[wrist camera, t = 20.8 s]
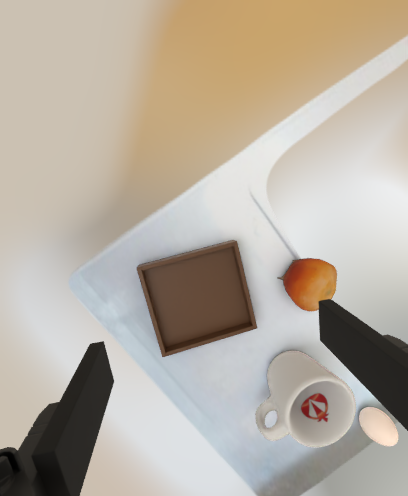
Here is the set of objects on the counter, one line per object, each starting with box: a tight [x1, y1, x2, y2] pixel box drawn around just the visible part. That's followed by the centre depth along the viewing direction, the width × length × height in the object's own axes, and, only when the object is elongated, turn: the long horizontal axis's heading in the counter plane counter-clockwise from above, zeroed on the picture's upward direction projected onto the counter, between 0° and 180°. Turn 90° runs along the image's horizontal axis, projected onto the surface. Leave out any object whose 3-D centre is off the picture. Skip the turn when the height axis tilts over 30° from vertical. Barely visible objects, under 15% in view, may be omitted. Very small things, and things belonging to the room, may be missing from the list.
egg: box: [359, 407, 398, 446], centre depth 46 cm, size 5×5×7 cm
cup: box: [256, 351, 356, 447], centre depth 41 cm, size 14×10×10 cm
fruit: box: [277, 258, 337, 311], centre depth 42 cm, size 8×8×8 cm
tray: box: [137, 240, 257, 357], centre depth 41 cm, size 15×14×2 cm
